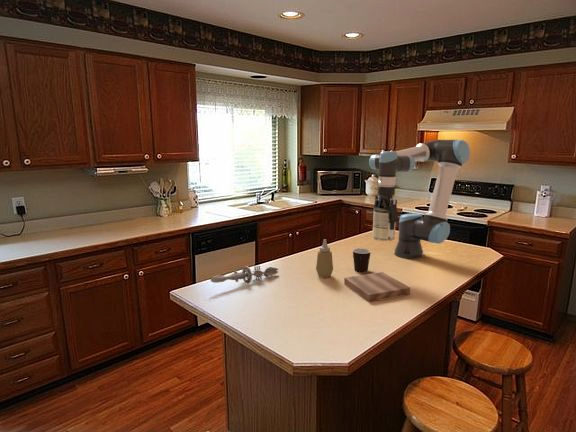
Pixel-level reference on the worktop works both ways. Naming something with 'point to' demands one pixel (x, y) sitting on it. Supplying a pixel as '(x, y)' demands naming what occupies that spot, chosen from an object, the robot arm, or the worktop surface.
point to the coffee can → (381, 225)
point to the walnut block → (376, 286)
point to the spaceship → (246, 275)
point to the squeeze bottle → (324, 261)
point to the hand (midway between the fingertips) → (383, 233)
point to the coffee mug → (361, 259)
